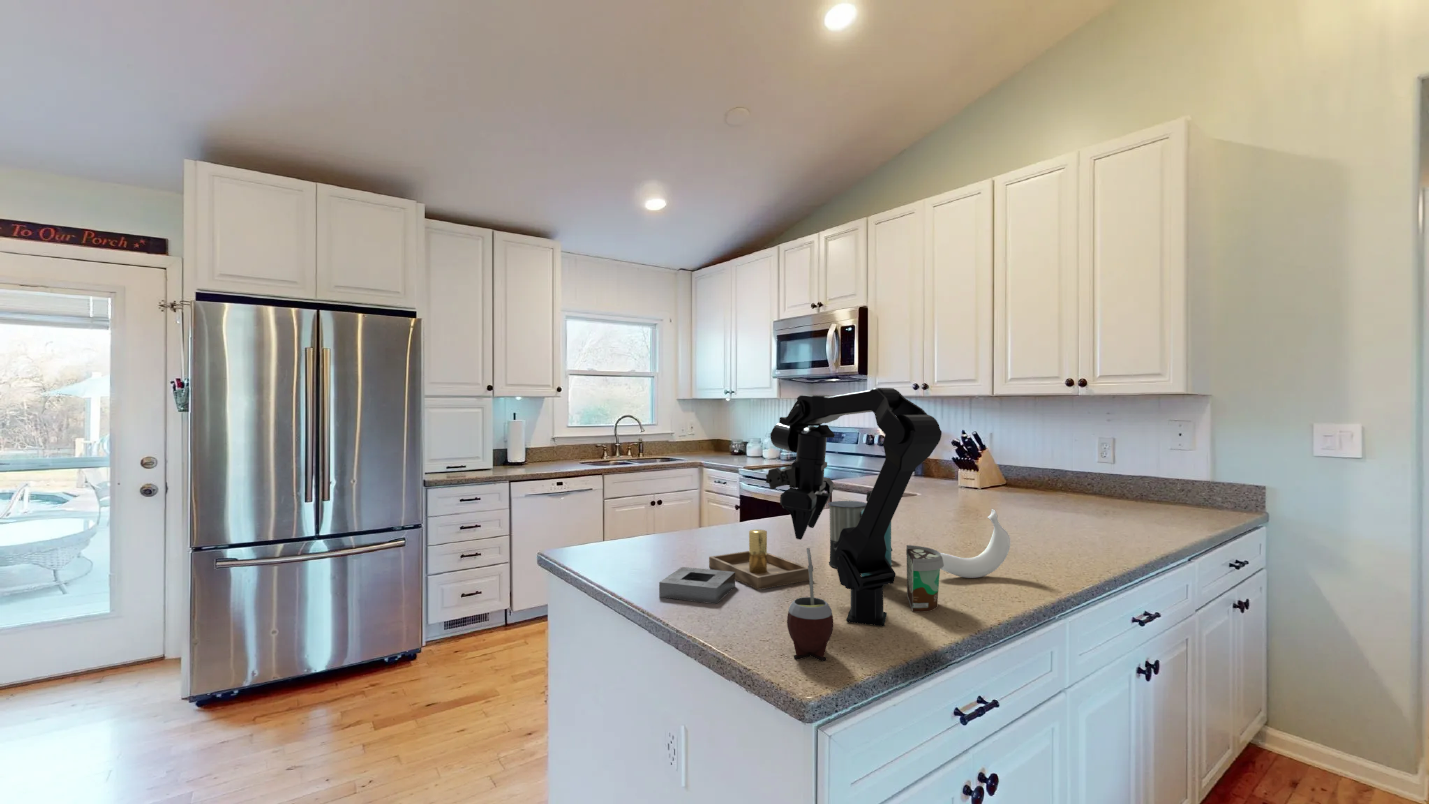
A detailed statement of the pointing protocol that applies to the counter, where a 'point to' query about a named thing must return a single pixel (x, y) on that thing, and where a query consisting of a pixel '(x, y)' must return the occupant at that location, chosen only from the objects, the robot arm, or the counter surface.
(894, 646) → the counter surface
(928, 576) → the food container
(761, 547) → the brass pin
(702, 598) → the grey square socket block
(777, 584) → the walnut tray
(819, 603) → the mate gourd
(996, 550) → the banana
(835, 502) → the milk frother
